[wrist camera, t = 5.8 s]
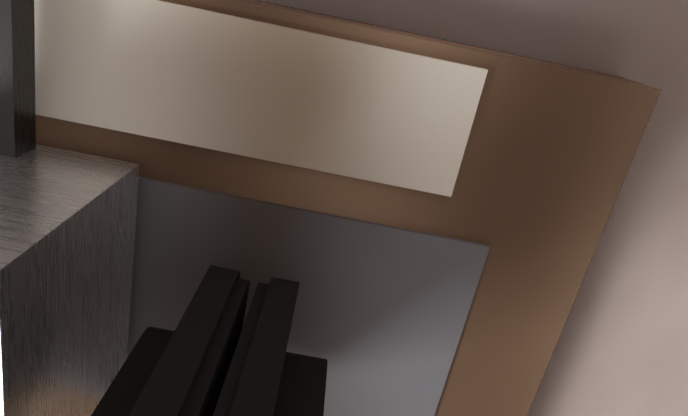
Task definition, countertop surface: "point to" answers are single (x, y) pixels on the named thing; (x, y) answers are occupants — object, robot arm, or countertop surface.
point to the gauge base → (350, 184)
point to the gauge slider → (57, 251)
